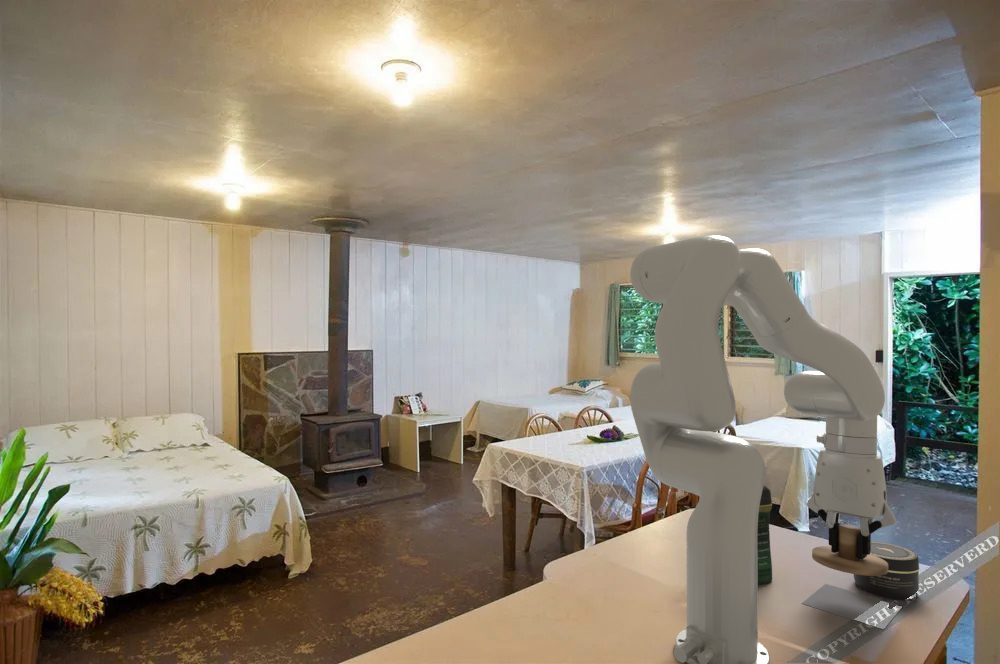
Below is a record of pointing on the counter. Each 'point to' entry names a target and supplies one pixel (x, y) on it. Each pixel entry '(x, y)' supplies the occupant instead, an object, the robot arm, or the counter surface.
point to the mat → (842, 601)
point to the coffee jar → (764, 539)
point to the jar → (892, 573)
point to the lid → (849, 555)
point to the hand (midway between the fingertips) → (849, 553)
